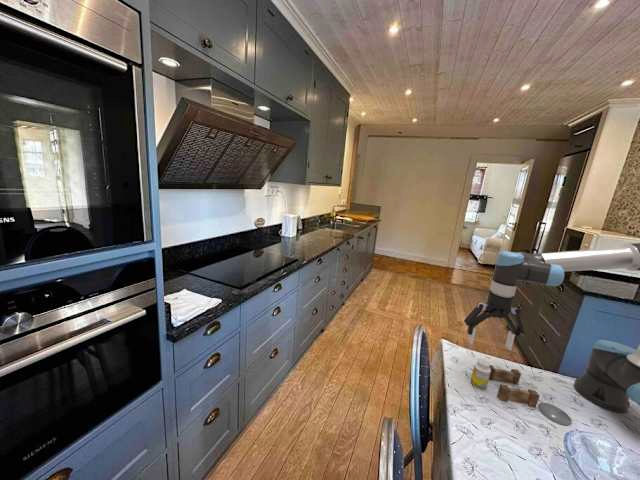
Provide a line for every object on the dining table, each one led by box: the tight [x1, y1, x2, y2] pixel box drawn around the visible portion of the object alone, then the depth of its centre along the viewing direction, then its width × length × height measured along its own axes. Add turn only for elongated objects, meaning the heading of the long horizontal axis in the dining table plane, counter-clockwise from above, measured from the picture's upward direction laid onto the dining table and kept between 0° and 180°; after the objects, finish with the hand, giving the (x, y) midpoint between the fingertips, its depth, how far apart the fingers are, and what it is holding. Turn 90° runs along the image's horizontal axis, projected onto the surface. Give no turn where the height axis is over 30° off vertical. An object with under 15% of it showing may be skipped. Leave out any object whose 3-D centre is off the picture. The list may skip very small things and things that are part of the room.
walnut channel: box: [488, 364, 540, 409], centre depth 102 cm, size 12×14×5 cm
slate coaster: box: [537, 402, 573, 427], centre depth 93 cm, size 9×9×1 cm
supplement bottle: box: [470, 358, 491, 390], centre depth 103 cm, size 6×6×10 cm
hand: (488, 345), depth 101 cm, fingers open, 13 cm apart
